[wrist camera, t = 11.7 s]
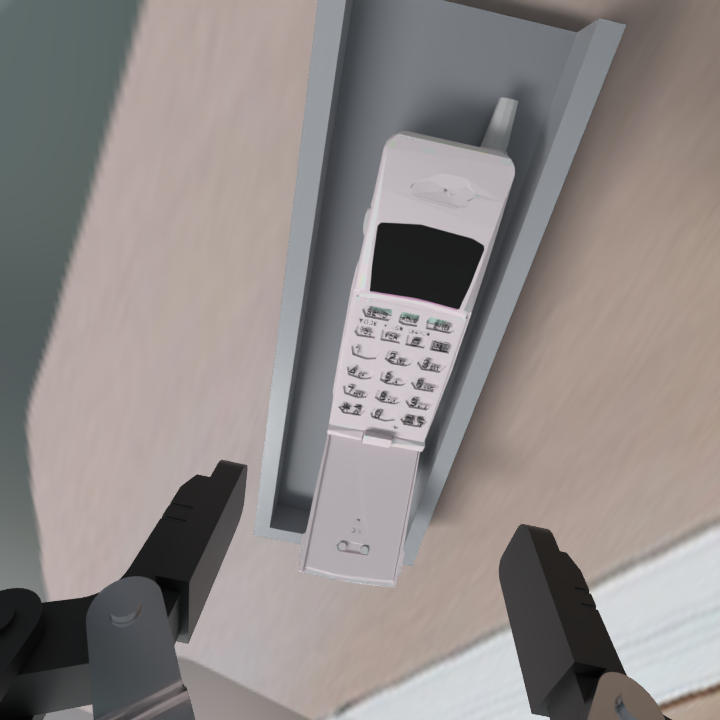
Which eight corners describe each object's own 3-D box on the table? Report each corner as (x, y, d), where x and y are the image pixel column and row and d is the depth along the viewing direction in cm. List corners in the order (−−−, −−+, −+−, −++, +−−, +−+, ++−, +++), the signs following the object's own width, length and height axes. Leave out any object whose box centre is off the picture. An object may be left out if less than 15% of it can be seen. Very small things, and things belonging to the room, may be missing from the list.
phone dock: (334, -18, 17) (323, -49, 14) (590, 43, 17) (626, 24, 15) (265, 501, 31) (253, 535, 28) (410, 530, 31) (411, 565, 28)
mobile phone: (293, 576, 24) (394, 46, 12) (310, 498, 29) (391, 75, 18) (396, 594, 24) (589, 91, 13) (394, 513, 29) (528, 107, 18)
